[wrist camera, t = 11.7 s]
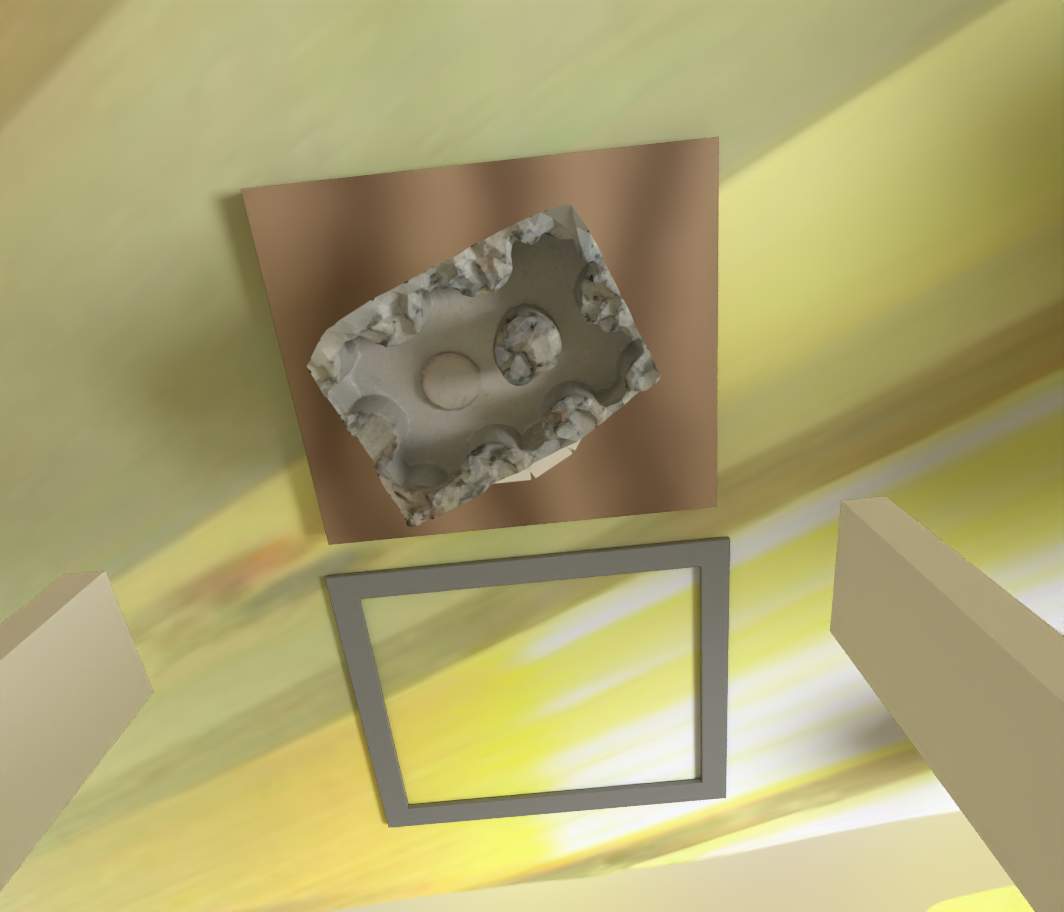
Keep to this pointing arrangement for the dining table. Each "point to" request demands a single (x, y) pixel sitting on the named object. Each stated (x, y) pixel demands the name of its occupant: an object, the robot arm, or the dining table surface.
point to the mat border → (528, 570)
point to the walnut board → (466, 219)
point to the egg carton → (484, 363)
